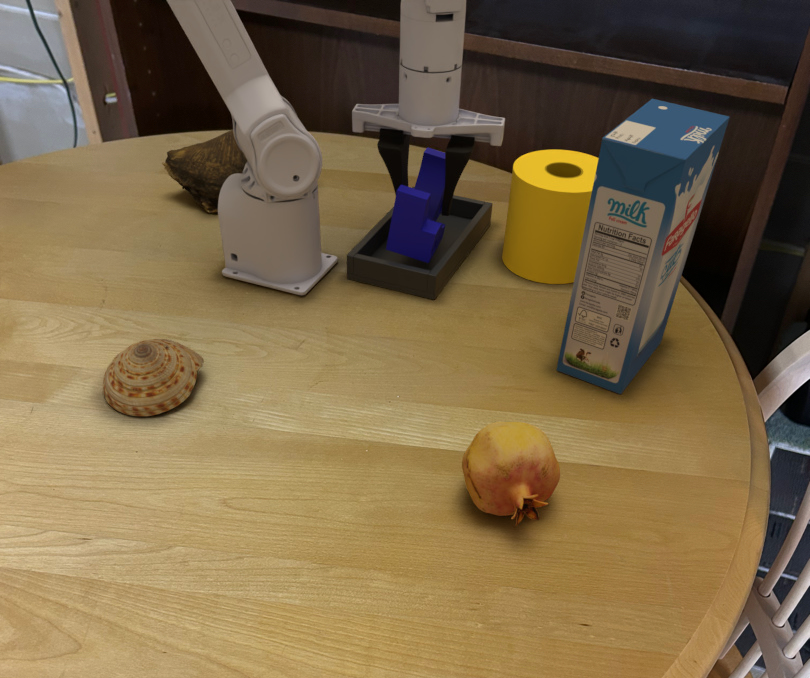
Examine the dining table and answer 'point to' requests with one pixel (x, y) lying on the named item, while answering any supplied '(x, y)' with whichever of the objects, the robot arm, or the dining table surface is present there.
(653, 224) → the milk carton
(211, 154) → the seashell
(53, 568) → the dining table surface
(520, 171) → the yellow toilet paper roll
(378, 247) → the holder
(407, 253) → the blue piece
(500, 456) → the fruit
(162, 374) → the seashell
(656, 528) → the dining table surface
